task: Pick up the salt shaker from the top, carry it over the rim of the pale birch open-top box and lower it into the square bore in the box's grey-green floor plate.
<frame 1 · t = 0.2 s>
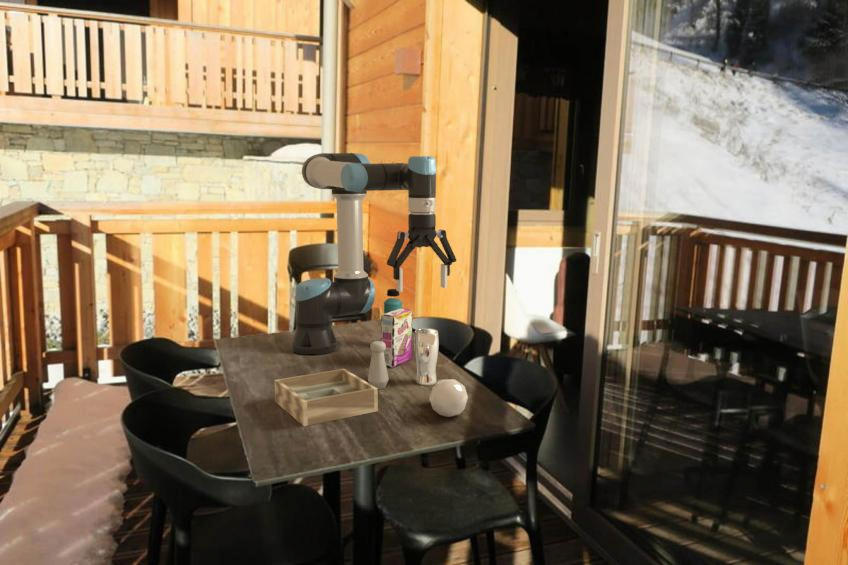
hand: (422, 289, 198), 27 cm above the table, tool pointing down, fingers open, 13 cm apart
insert box: (325, 406, 184), on the table
salt shaker: (378, 387, 199), on the table
candy bar box: (396, 363, 223), on the table
beverage bottle: (393, 347, 241), on the table
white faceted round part: (446, 412, 181), on the table
beer glass: (426, 382, 204), on the table
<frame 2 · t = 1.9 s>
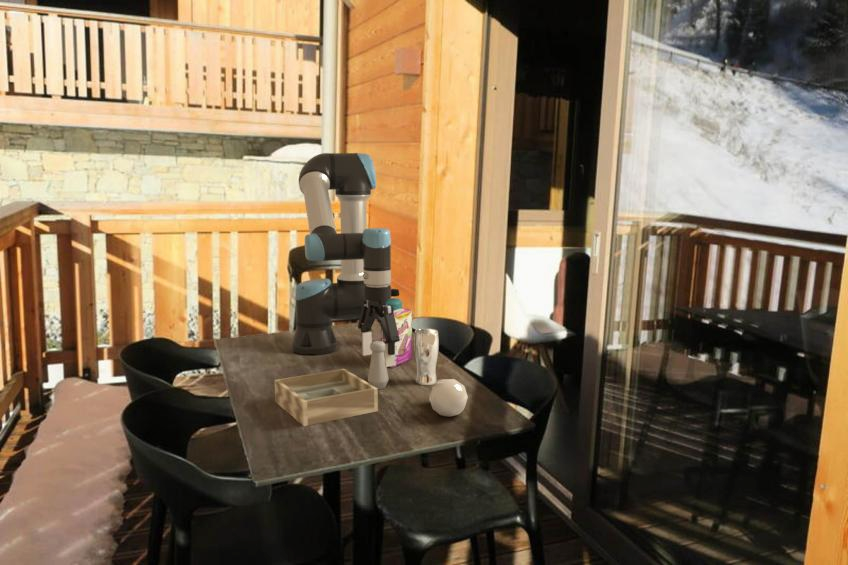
hand: (378, 360, 198), 8 cm above the table, tool pointing down, fingers open, 13 cm apart
nothing on the table moved.
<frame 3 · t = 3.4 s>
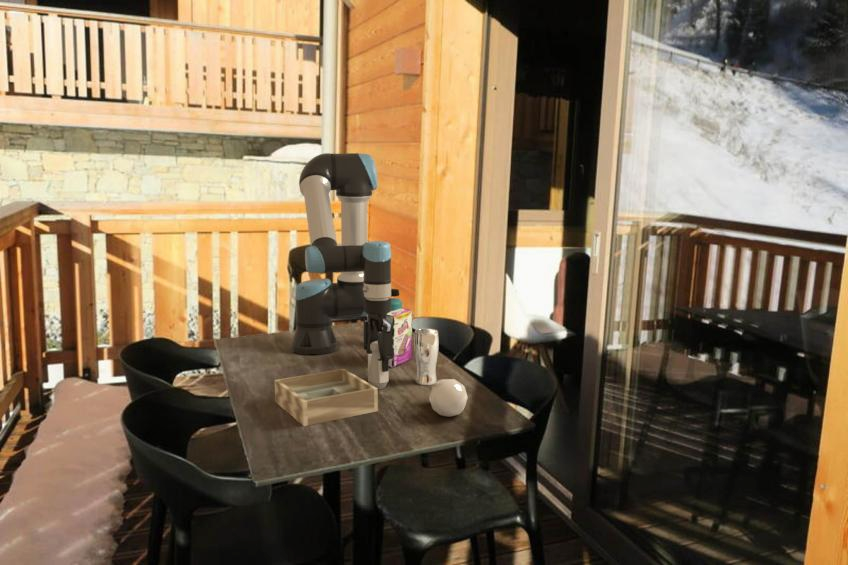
hand: (378, 378, 199), 2 cm above the table, tool pointing down, fingers closed on salt shaker, 6 cm apart
salt shaker: (378, 387, 199), on the table, touching gripper
everything else where it was.
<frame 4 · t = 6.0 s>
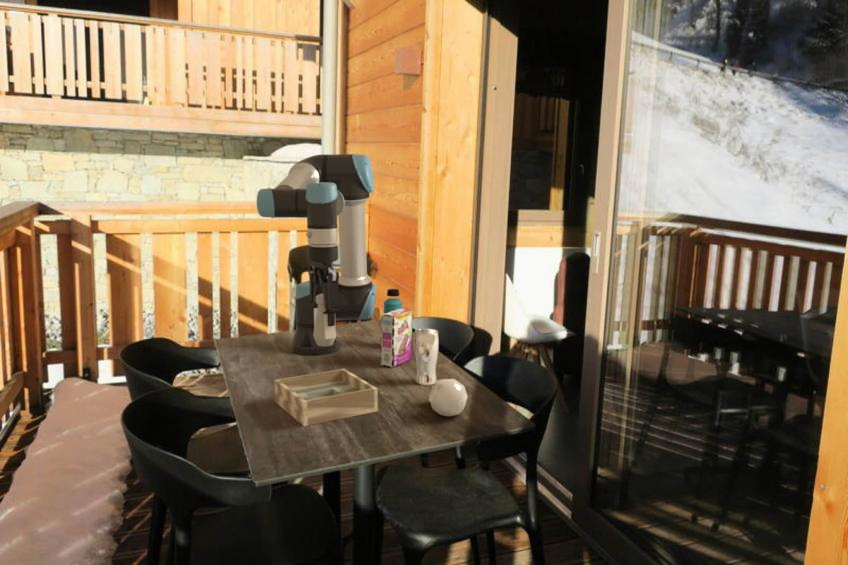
hand: (324, 335, 181), 19 cm above the table, tool pointing down, fingers closed on salt shaker, 6 cm apart
salt shaker: (325, 345, 181), point 16 cm above the table, touching gripper
everything else where it was.
when the fingers open (4 cm above the table, at t = 8.8 s): salt shaker drops 1 cm, resting in insert box.
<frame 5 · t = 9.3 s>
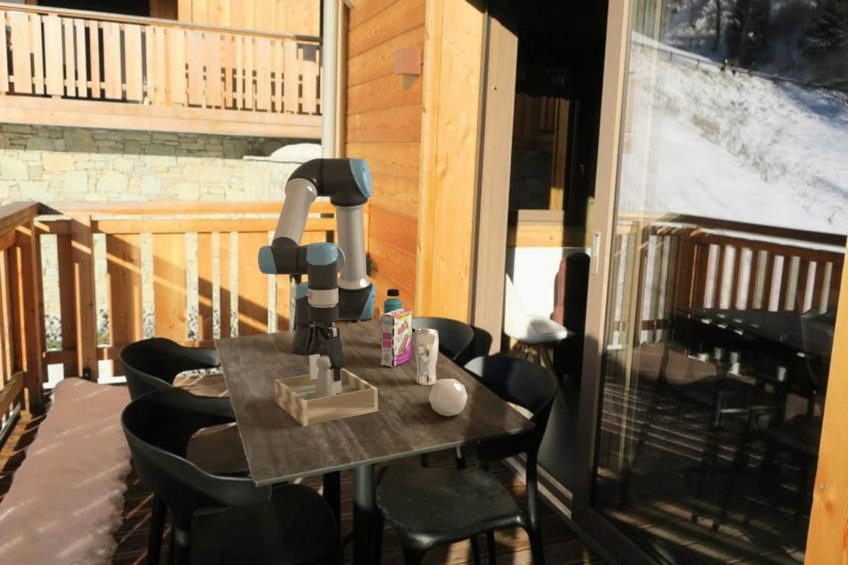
hand: (325, 385, 183), 6 cm above the table, tool pointing down, fingers open, 13 cm apart
salt shaker: (325, 407, 184), resting in insert box
everything else where it was.
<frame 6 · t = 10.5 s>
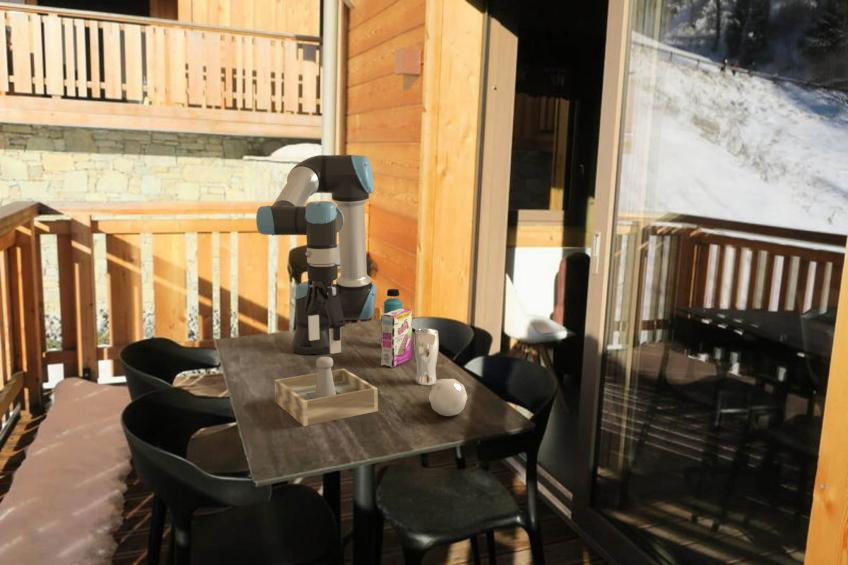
hand: (324, 346, 181), 16 cm above the table, tool pointing down, fingers open, 13 cm apart
nothing on the table moved.
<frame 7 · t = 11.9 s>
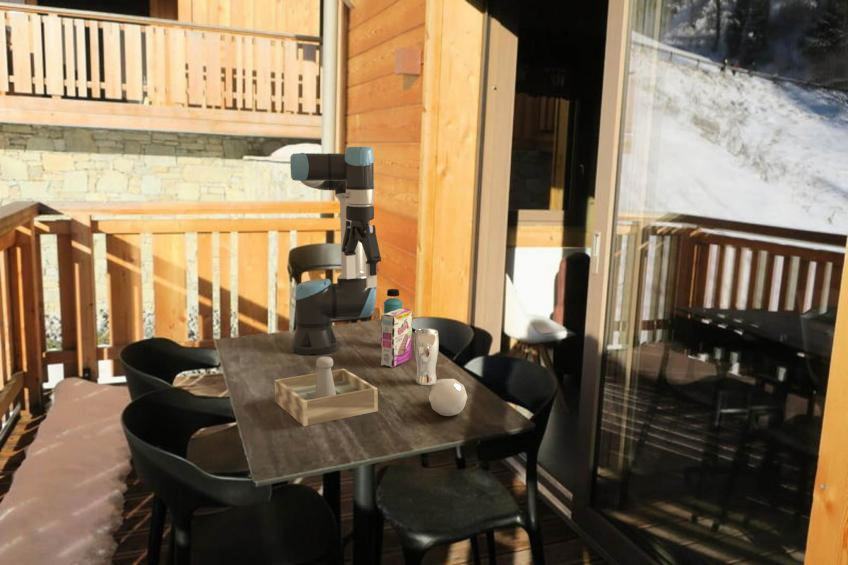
hand: (360, 282, 195), 30 cm above the table, tool pointing down, fingers open, 13 cm apart
nothing on the table moved.
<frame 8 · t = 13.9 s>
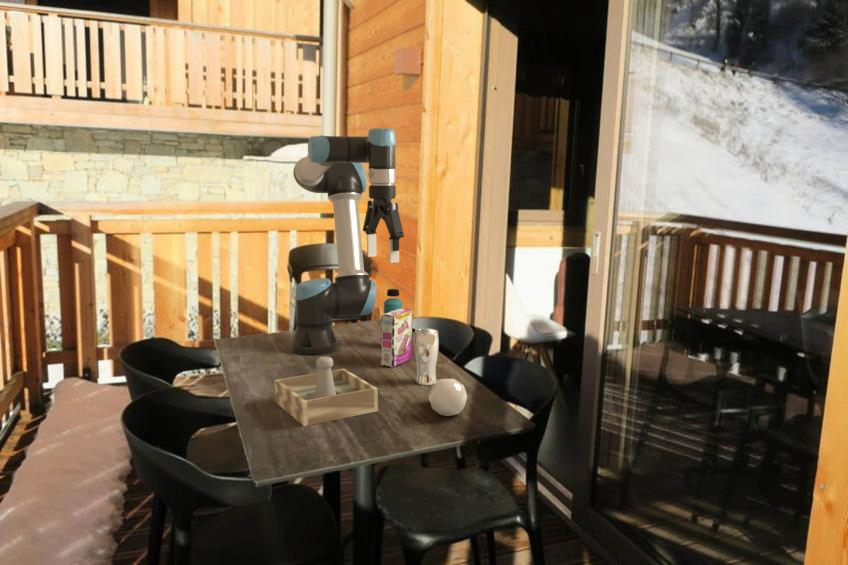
hand: (382, 259, 203), 35 cm above the table, tool pointing down, fingers open, 13 cm apart
nothing on the table moved.
at the end: salt shaker 0.1 cm from the insert box (horizontally); salt shaker touching table; salt shaker tilted 0° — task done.
